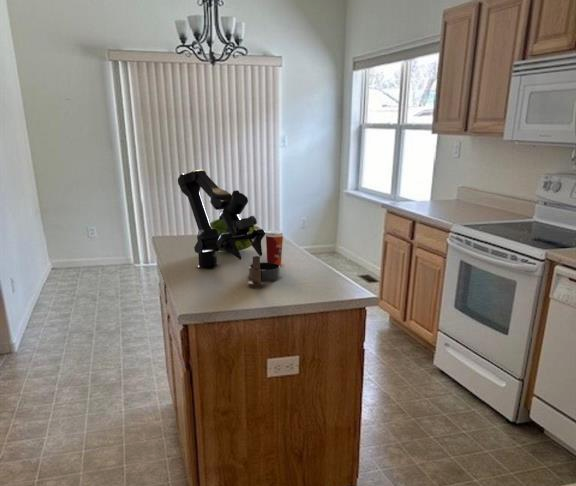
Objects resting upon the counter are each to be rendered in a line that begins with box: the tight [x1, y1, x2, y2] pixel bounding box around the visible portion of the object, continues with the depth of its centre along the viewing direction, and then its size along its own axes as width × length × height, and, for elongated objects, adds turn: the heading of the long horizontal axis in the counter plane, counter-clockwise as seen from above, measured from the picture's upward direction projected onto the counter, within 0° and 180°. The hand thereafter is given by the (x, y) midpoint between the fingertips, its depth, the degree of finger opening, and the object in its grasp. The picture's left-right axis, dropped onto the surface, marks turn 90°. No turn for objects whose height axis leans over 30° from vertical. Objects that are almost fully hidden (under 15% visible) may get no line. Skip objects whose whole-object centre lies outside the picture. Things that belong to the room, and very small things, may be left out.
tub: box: [248, 261, 281, 283], centre depth 205 cm, size 12×12×4 cm
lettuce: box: [209, 217, 262, 253], centre depth 244 cm, size 15×27×16 cm, turn 112°
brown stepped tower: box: [248, 255, 265, 289], centre depth 193 cm, size 6×6×11 cm
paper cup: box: [264, 230, 285, 267], centre depth 221 cm, size 8×8×14 cm
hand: (251, 257), depth 193 cm, fingers open, 9 cm apart
